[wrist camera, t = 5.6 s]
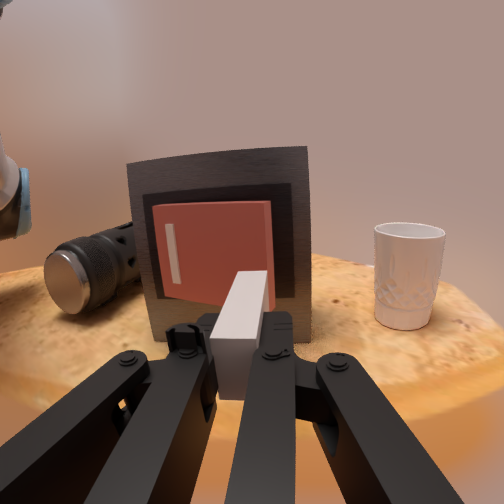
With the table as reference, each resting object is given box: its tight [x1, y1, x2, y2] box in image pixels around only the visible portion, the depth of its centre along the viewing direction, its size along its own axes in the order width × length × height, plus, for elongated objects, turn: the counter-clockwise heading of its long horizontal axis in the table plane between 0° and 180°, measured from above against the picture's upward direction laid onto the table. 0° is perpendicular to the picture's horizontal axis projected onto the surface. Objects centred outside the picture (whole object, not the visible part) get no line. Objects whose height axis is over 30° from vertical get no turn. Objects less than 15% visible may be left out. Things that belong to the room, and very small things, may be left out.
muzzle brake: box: [44, 221, 141, 314], centre depth 45 cm, size 10×28×10 cm, turn 166°
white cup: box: [374, 223, 446, 330], centre depth 30 cm, size 8×8×10 cm
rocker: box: [152, 201, 276, 312], centre depth 24 cm, size 10×1×8 cm, turn 65°
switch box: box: [127, 146, 311, 343], centre depth 30 cm, size 16×8×18 cm, turn 85°
